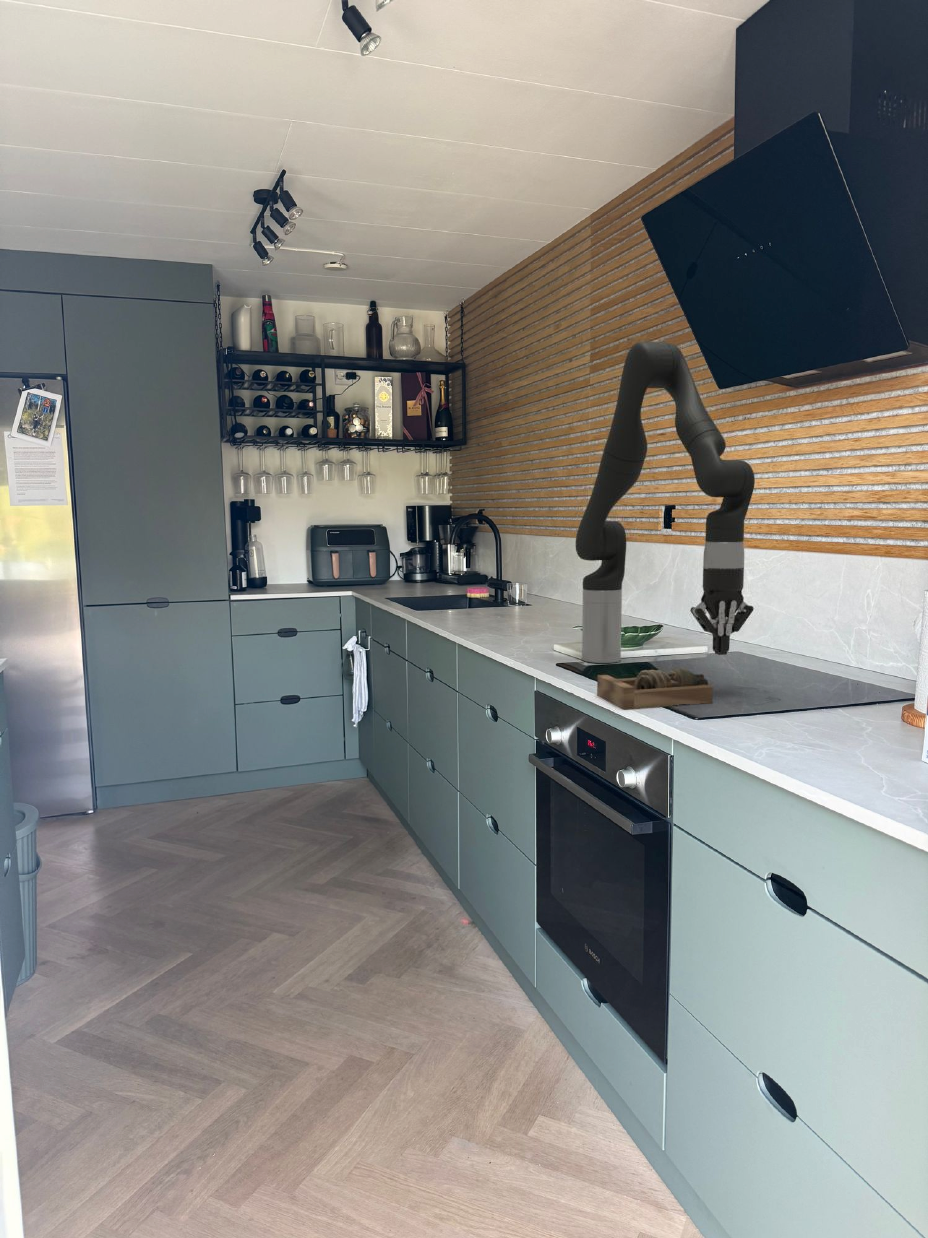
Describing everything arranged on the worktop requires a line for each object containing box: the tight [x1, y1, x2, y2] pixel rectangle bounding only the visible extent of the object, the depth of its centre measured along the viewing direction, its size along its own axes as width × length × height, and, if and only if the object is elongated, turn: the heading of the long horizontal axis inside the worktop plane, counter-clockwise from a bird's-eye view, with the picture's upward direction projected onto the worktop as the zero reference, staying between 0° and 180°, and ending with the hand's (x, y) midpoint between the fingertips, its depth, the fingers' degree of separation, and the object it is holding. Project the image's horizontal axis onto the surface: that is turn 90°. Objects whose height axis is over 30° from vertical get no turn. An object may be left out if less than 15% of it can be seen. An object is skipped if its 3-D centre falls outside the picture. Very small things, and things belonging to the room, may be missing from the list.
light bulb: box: [634, 668, 709, 690], centre depth 157 cm, size 6×6×15 cm
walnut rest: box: [596, 674, 714, 710], centre depth 157 cm, size 12×18×4 cm, turn 105°
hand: (720, 654), depth 160 cm, fingers closed
